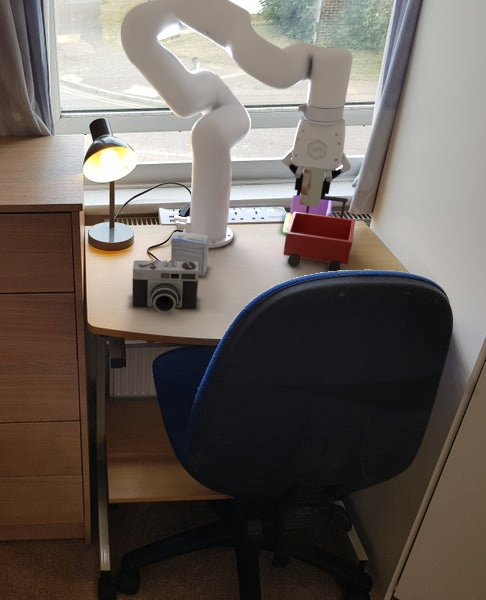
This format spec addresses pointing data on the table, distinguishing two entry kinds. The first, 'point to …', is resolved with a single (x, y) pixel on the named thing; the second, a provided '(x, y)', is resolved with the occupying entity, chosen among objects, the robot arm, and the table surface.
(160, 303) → the camera
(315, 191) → the white carton box
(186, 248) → the medicine box
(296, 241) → the cart
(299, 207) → the miniature room corner
